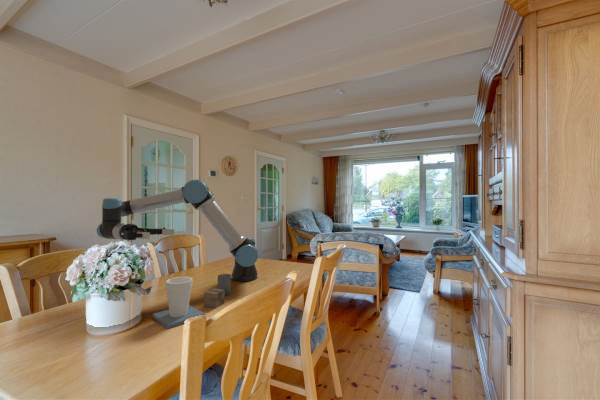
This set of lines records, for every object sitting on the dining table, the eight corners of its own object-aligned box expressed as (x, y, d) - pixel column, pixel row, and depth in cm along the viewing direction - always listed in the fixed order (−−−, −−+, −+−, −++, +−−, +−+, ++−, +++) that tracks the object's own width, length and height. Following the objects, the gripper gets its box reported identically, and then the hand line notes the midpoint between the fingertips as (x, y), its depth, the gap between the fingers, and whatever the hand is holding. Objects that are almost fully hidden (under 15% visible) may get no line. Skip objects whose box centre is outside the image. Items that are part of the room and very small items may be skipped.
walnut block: (212, 301, 122) (213, 288, 122) (224, 303, 120) (224, 289, 120) (204, 306, 116) (204, 292, 116) (215, 308, 114) (216, 294, 114)
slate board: (188, 307, 115) (188, 304, 115) (204, 316, 105) (204, 313, 105) (152, 316, 104) (152, 313, 104) (167, 328, 95) (167, 325, 95)
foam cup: (183, 307, 111) (184, 275, 111) (196, 312, 106) (197, 279, 106) (160, 314, 103) (161, 280, 104) (173, 321, 98) (174, 285, 98)
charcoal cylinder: (226, 291, 136) (226, 273, 136) (232, 294, 131) (232, 275, 131) (215, 293, 131) (215, 275, 131) (221, 297, 127) (221, 277, 127)
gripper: (148, 236, 139) (182, 239, 133) (99, 243, 116) (137, 246, 109) (149, 222, 139) (182, 223, 133) (99, 225, 116) (137, 228, 109)
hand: (162, 234), depth 121 cm, fingers open, 13 cm apart
